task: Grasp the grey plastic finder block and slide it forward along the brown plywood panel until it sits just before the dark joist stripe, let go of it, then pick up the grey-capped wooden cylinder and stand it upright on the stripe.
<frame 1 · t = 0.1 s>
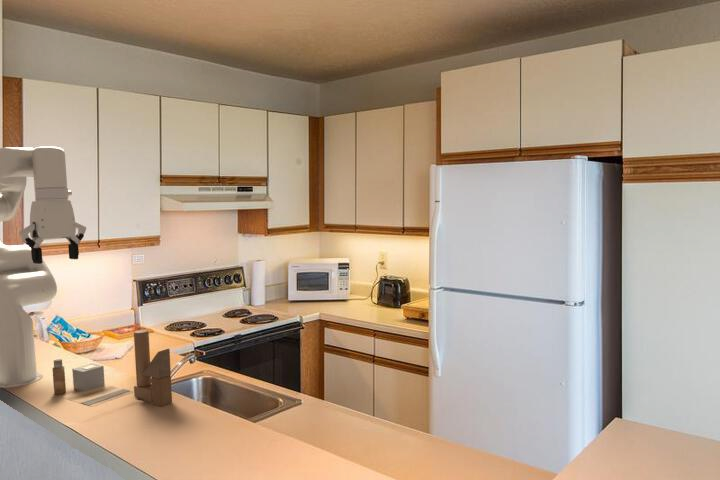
hand: (56, 261, 151), 37 cm above the worktop, tool pointing down, fingers open, 9 cm apart
panel: (93, 396, 154), on the worktop
finder block: (89, 387, 159), point 1 cm above the worktop, touching panel
grey-capped wooden cylinder: (60, 393, 155), point 1 cm above the worktop, touching panel
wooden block: (153, 401, 150), on the worktop
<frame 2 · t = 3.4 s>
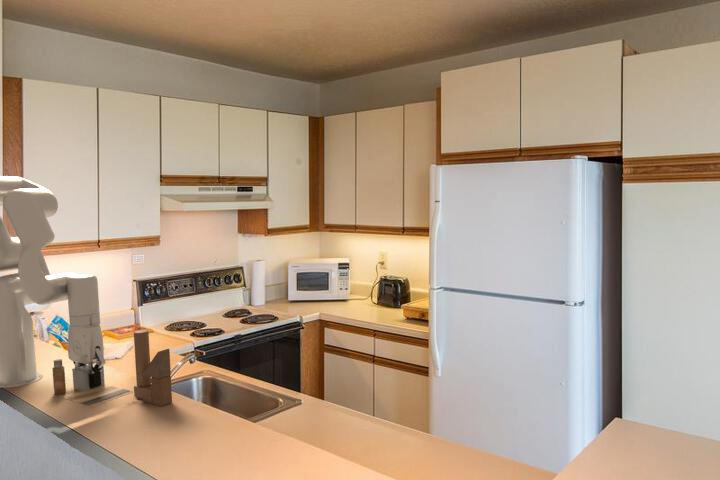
hand: (89, 384, 159), 2 cm above the worktop, tool pointing down, fingers closed on finder block, 5 cm apart
finder block: (89, 387, 159), point 1 cm above the worktop, touching gripper, panel
everything else where it was.
when the fingers open (2 cm above the worktop, at t = 5.6 s): finder block stays where it is, resting on panel.
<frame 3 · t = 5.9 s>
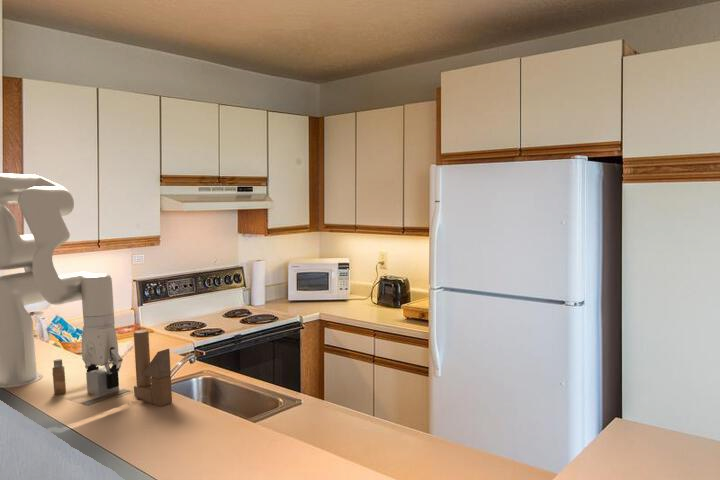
hand: (103, 384, 155), 3 cm above the worktop, tool pointing down, fingers open, 8 cm apart
finder block: (103, 390, 155), point 1 cm above the worktop, touching panel
everything else where it was.
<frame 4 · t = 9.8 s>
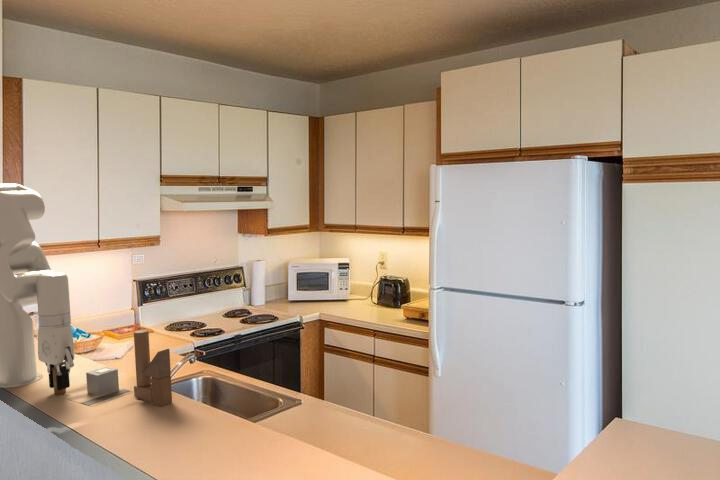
hand: (59, 386, 154), 3 cm above the worktop, tool pointing down, fingers closed on grey-capped wooden cylinder, 2 cm apart
grey-capped wooden cylinder: (60, 393, 155), point 1 cm above the worktop, touching gripper, panel
everything else where it was.
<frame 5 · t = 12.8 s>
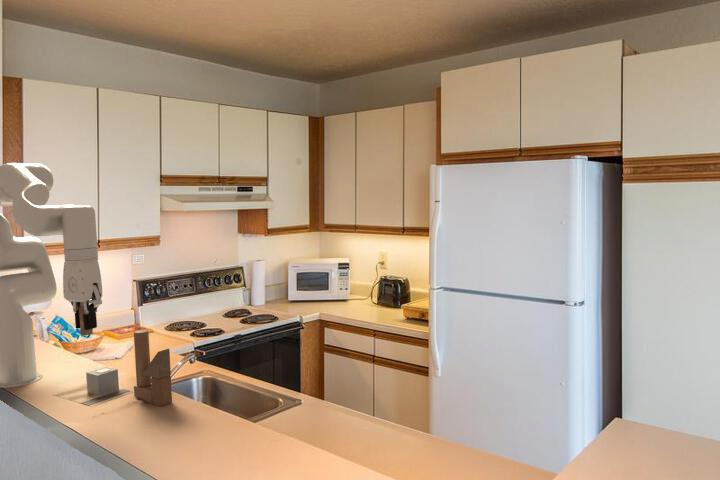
hand: (86, 327, 145), 20 cm above the worktop, tool pointing down, fingers closed on grey-capped wooden cylinder, 2 cm apart
grey-capped wooden cylinder: (86, 333, 145), point 19 cm above the worktop, touching gripper
everything else where it was.
when the fingers open (4 cm above the worktop, at t = 15.9 s): grey-capped wooden cylinder stays where it is, resting on panel.
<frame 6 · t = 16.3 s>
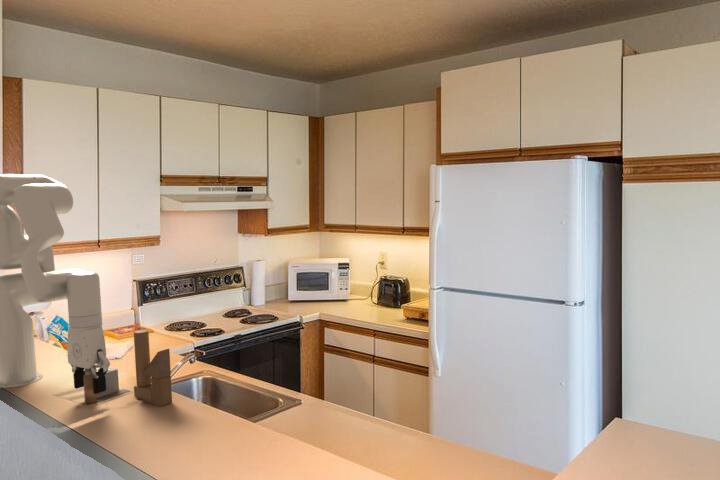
hand: (90, 389, 147), 4 cm above the worktop, tool pointing down, fingers open, 7 cm apart
grey-capped wooden cylinder: (91, 401, 147), point 1 cm above the worktop, touching panel
everything else where it was.
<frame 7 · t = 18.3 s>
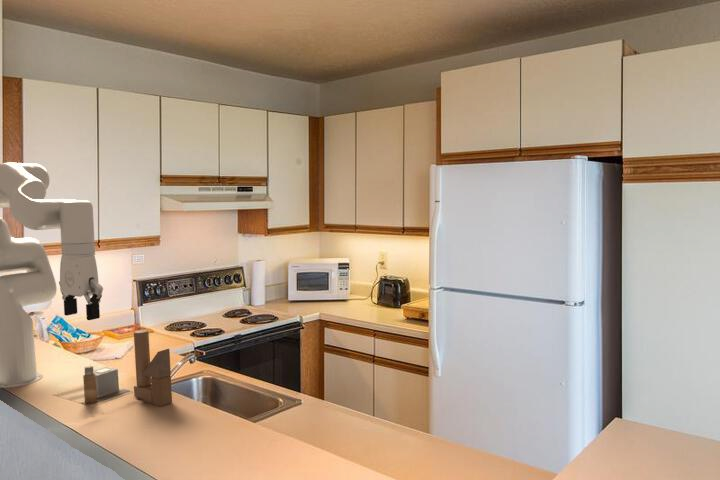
hand: (81, 316, 147), 23 cm above the worktop, tool pointing down, fingers open, 9 cm apart
nothing on the worktop moved.
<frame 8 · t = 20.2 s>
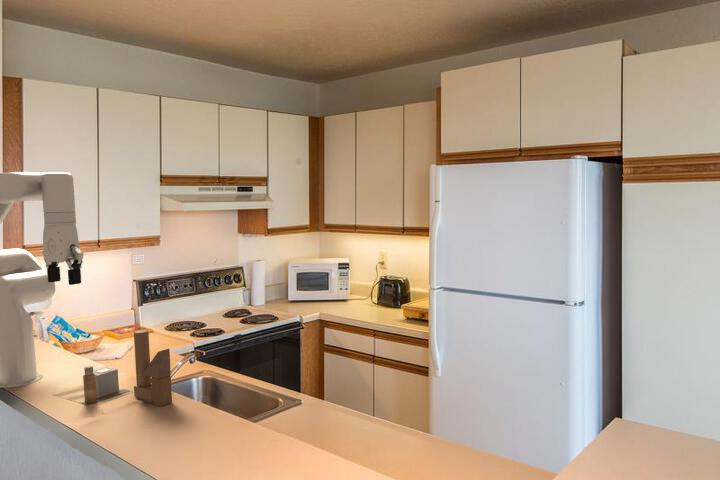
hand: (64, 282, 155), 30 cm above the worktop, tool pointing down, fingers open, 9 cm apart
nothing on the worktop moved.
at the end: finder block 0.4 cm from the target spot, point 1.0 cm above the worktop; grey-capped wooden cylinder 0.0 cm from the target spot, point 1.1 cm above the worktop; grey-capped wooden cylinder tilted 0° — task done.
